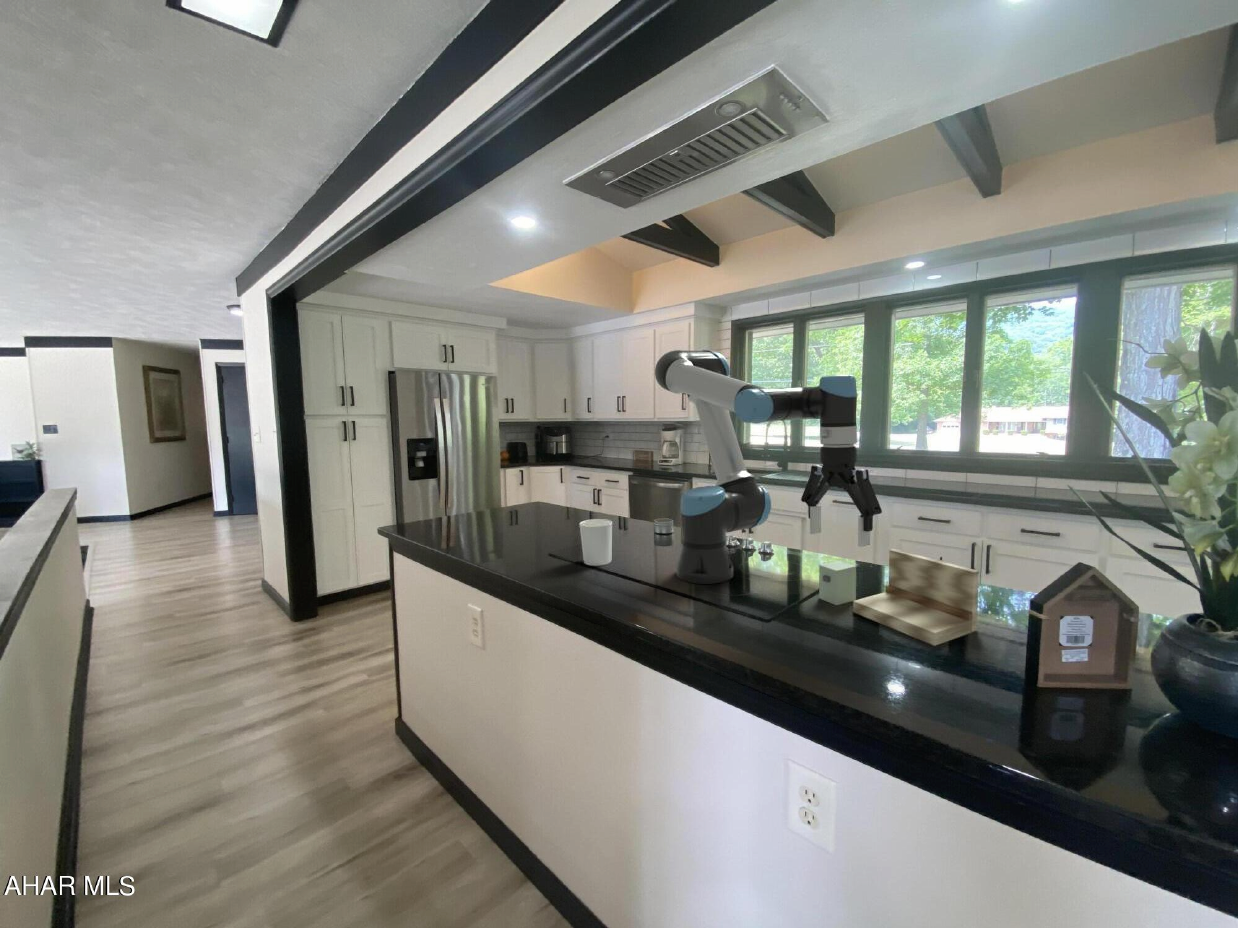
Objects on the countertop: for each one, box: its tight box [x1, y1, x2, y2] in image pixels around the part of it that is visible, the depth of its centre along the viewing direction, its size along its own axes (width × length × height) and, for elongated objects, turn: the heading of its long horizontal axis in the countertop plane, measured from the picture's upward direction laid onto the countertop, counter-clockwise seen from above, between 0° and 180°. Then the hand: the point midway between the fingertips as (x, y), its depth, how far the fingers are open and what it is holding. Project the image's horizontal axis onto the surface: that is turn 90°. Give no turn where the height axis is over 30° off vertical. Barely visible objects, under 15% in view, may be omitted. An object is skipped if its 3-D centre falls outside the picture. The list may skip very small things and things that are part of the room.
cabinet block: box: [818, 560, 857, 606], centre depth 118 cm, size 5×7×8 cm
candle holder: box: [578, 518, 613, 567], centre depth 155 cm, size 10×10×12 cm
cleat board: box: [852, 548, 980, 647], centre depth 105 cm, size 18×12×12 cm
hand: (838, 539), depth 117 cm, fingers open, 13 cm apart
